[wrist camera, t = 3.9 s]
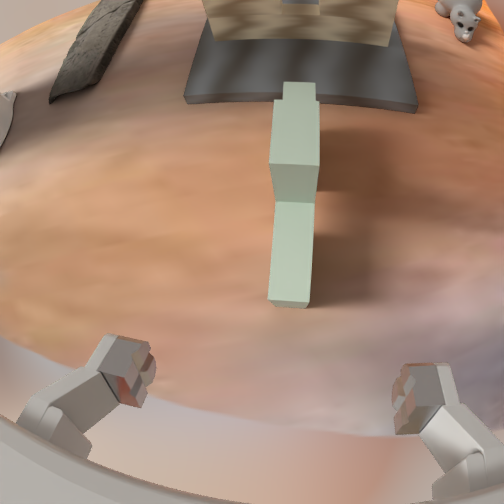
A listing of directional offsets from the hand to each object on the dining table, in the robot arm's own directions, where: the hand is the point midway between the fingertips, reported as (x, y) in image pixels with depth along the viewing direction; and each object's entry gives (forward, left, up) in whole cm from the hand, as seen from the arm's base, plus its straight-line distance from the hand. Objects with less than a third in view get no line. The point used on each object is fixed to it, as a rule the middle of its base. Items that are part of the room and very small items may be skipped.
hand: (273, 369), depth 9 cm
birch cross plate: (-11, +31, -16) cm, 37 cm away
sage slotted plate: (-4, +10, -16) cm, 19 cm away
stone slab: (-43, +29, -17) cm, 55 cm away
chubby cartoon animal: (+7, +49, -16) cm, 52 cm away
